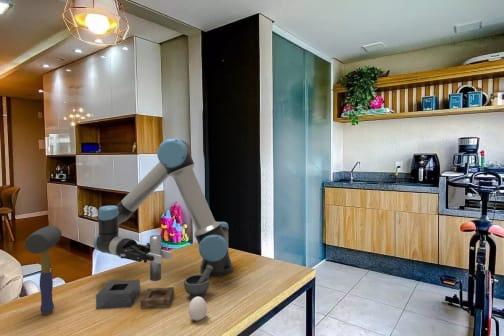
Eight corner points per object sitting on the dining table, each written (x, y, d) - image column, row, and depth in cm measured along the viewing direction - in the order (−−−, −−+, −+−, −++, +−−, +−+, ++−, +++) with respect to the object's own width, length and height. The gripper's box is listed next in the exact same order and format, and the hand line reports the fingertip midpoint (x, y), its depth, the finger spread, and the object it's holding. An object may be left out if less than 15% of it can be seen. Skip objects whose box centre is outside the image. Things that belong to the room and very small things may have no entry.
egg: (207, 313, 102) (207, 292, 102) (207, 323, 96) (206, 300, 96) (189, 315, 102) (189, 293, 101) (188, 325, 96) (187, 302, 95)
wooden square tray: (174, 294, 117) (173, 287, 117) (169, 307, 107) (169, 299, 107) (147, 296, 116) (147, 288, 116) (140, 309, 106) (140, 300, 106)
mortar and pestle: (185, 305, 109) (184, 272, 108) (183, 293, 118) (182, 263, 117) (215, 300, 112) (215, 268, 112) (211, 289, 121) (211, 260, 121)
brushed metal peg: (162, 276, 113) (162, 235, 113) (160, 280, 109) (160, 237, 109) (151, 276, 113) (151, 235, 112) (148, 281, 109) (148, 238, 108)
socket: (140, 291, 120) (139, 279, 119) (130, 307, 108) (130, 293, 107) (109, 293, 119) (108, 281, 118) (96, 308, 107) (95, 295, 106)
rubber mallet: (51, 321, 99) (48, 232, 98) (26, 324, 97) (22, 233, 96) (66, 303, 111) (63, 223, 110) (43, 305, 109) (40, 224, 108)
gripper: (141, 250, 127) (182, 260, 116) (104, 263, 112) (147, 276, 101) (141, 233, 127) (182, 241, 115) (104, 243, 112) (147, 254, 100)
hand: (166, 257), depth 108 cm, fingers closed on brushed metal peg, 4 cm apart
